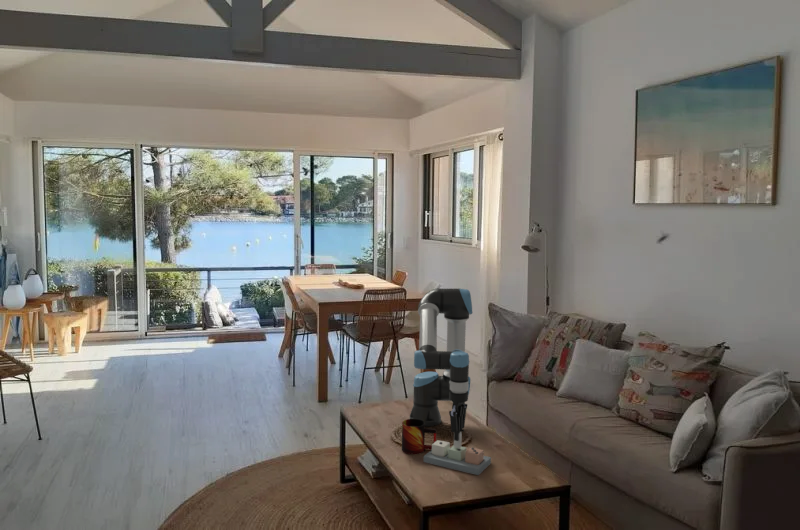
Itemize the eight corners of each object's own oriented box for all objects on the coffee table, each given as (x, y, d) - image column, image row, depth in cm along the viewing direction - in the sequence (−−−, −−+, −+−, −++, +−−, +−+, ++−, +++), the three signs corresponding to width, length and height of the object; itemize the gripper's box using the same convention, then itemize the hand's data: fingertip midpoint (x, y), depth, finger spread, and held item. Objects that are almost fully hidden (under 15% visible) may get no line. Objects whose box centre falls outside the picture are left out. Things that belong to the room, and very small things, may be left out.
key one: (437, 449, 269) (437, 439, 269) (449, 452, 267) (449, 441, 266) (431, 454, 265) (431, 443, 264) (443, 457, 262) (443, 446, 261)
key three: (470, 457, 262) (471, 446, 262) (483, 460, 259) (483, 449, 259) (465, 462, 257) (465, 451, 257) (478, 465, 255) (478, 454, 254)
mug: (436, 452, 272) (437, 425, 271) (405, 455, 269) (405, 427, 267) (429, 443, 281) (430, 417, 280) (399, 446, 278) (399, 419, 277)
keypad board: (437, 450, 274) (437, 445, 273) (490, 463, 262) (490, 457, 262) (423, 461, 262) (423, 456, 262) (478, 475, 251) (478, 469, 250)
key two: (453, 454, 266) (454, 444, 265) (466, 457, 263) (466, 446, 263) (448, 459, 261) (448, 448, 260) (460, 462, 258) (460, 451, 258)
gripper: (457, 385, 266) (455, 440, 269) (443, 393, 255) (442, 450, 258) (473, 388, 263) (472, 443, 265) (460, 396, 251) (459, 454, 254)
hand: (457, 447), depth 261 cm, fingers closed
